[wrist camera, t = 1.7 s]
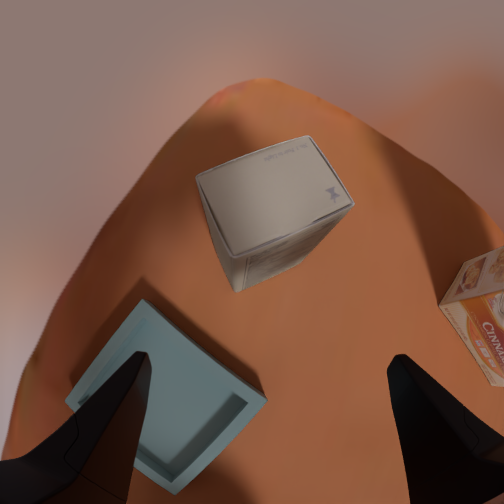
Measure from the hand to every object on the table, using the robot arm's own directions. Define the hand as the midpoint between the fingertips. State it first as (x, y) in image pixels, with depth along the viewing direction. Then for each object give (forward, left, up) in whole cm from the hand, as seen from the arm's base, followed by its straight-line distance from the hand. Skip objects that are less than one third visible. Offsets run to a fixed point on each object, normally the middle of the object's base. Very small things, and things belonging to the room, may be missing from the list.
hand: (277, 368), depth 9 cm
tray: (+3, +9, -13) cm, 16 cm away
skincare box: (+4, -6, -13) cm, 15 cm away
